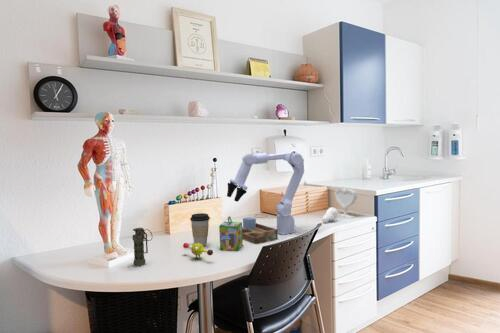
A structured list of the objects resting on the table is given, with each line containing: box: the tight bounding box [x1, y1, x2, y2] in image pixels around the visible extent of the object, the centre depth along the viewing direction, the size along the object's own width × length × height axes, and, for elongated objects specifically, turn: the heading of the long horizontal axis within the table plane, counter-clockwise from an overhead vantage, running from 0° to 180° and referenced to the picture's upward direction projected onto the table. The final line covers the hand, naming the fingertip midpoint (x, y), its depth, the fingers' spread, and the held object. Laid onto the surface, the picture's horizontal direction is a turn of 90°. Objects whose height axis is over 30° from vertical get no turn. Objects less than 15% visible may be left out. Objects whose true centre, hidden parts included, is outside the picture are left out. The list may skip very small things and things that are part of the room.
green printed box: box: [218, 215, 243, 251], centre depth 162 cm, size 9×9×15 cm
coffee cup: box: [189, 212, 211, 248], centre depth 166 cm, size 9×9×15 cm
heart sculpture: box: [334, 187, 358, 219], centre depth 227 cm, size 16×5×18 cm, turn 34°
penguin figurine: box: [321, 206, 339, 224], centre depth 210 cm, size 6×8×12 cm
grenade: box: [132, 227, 153, 267], centre depth 141 cm, size 9×6×15 cm, turn 132°
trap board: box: [242, 222, 279, 245], centre depth 180 cm, size 14×22×5 cm, turn 36°
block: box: [242, 216, 257, 229], centre depth 188 cm, size 5×5×5 cm
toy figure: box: [182, 242, 214, 260], centre depth 147 cm, size 18×6×7 cm, turn 50°
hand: (232, 198), depth 182 cm, fingers open, 7 cm apart
